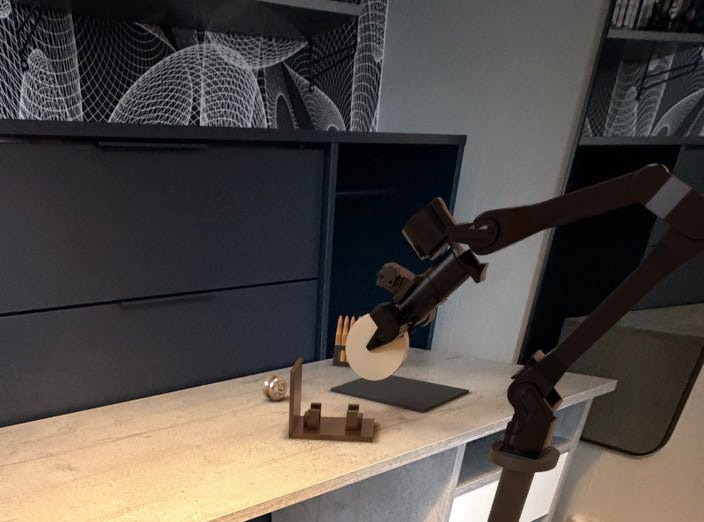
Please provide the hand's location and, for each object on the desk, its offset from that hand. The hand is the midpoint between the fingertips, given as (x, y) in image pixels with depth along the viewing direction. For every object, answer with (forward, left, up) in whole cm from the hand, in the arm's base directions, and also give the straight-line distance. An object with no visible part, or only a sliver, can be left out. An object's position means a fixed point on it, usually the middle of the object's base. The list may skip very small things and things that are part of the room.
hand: (369, 347), depth 97 cm
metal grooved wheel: (+20, +6, -12) cm, 24 cm away
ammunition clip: (+25, -28, -12) cm, 40 cm away
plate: (-1, 0, -6) cm, 6 cm away
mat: (+3, -16, -12) cm, 21 cm away
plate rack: (-2, +13, -12) cm, 18 cm away
